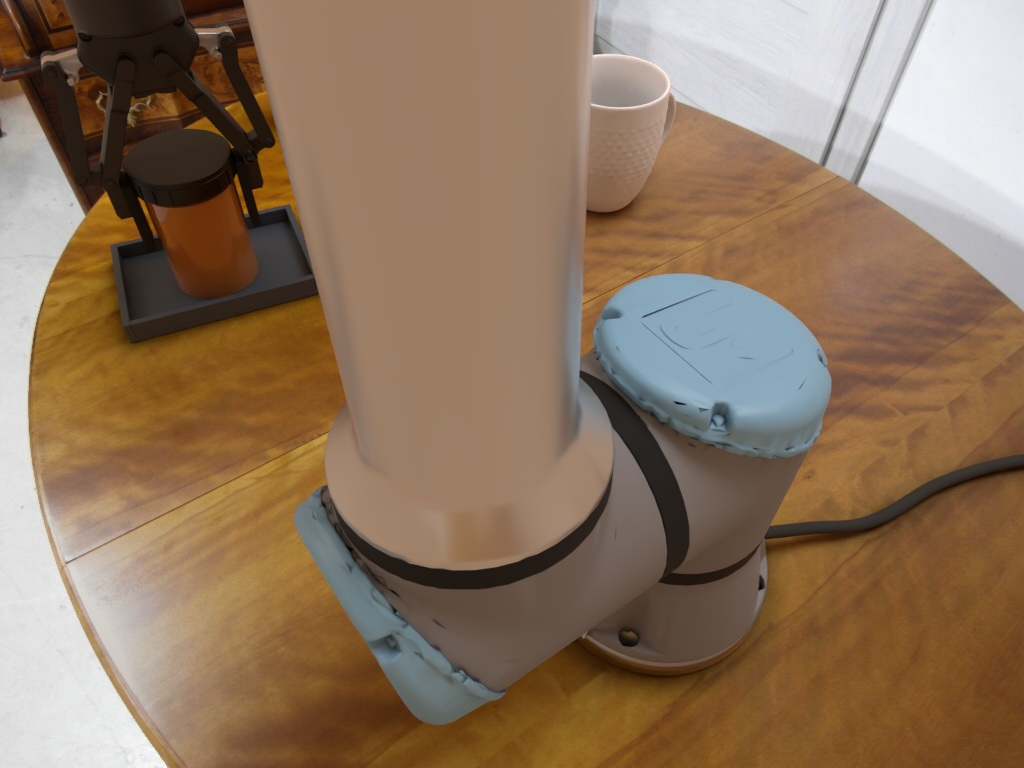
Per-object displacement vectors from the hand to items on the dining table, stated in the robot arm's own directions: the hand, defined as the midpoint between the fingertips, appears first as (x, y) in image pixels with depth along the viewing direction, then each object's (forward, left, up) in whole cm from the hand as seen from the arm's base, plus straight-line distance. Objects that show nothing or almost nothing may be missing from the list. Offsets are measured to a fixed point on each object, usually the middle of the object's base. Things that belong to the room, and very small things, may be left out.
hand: (203, 230), depth 70 cm
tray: (0, 0, -5) cm, 5 cm away
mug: (-41, +2, -6) cm, 41 cm away
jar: (0, 0, -5) cm, 5 cm away
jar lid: (0, 0, +7) cm, 7 cm away
